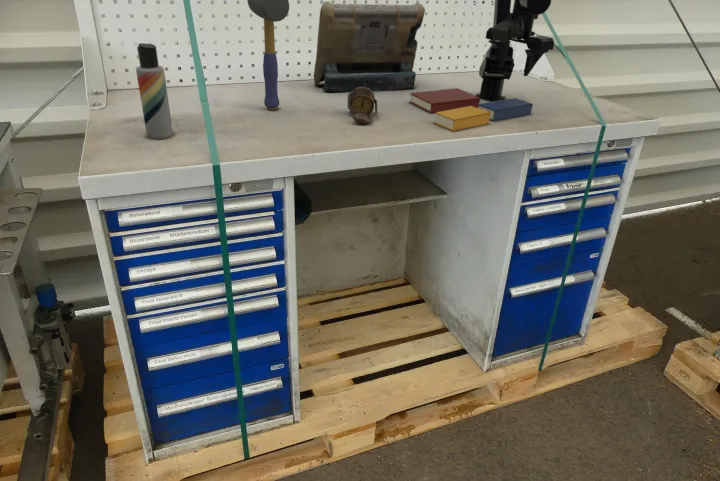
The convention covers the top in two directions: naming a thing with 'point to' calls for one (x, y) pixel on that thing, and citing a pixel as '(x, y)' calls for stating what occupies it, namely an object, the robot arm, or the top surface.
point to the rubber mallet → (270, 44)
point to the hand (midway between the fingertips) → (512, 72)
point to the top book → (462, 118)
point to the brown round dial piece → (362, 105)
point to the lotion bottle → (153, 93)
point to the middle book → (506, 109)
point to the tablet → (367, 46)
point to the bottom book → (443, 100)
